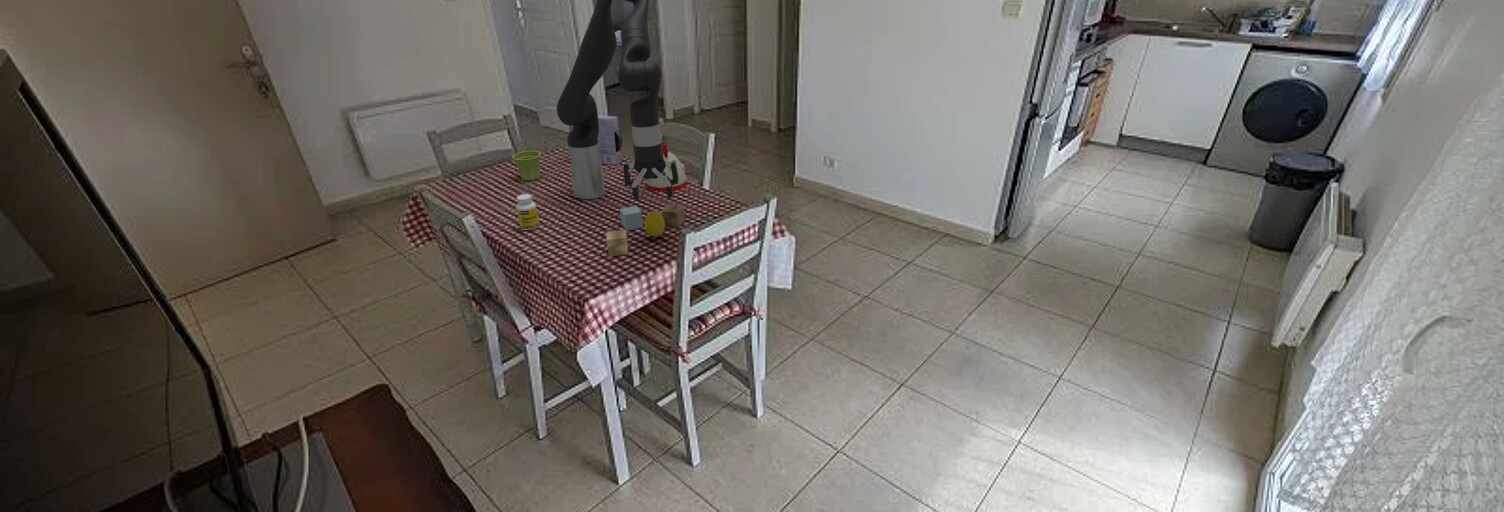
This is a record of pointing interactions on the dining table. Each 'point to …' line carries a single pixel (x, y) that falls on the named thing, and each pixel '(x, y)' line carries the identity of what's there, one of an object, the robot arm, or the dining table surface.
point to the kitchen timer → (658, 183)
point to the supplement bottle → (527, 212)
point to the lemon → (654, 224)
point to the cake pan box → (608, 140)
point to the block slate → (631, 218)
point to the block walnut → (673, 215)
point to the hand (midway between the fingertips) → (653, 198)
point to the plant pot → (528, 164)
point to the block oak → (617, 243)
